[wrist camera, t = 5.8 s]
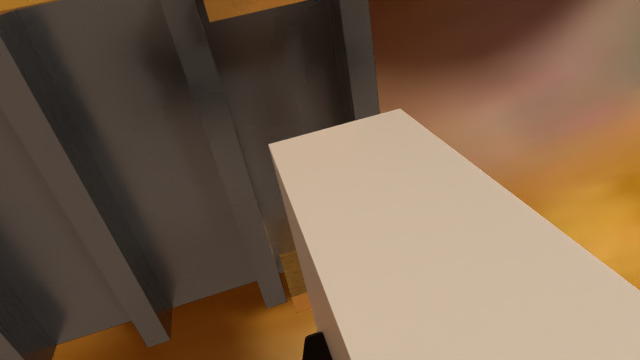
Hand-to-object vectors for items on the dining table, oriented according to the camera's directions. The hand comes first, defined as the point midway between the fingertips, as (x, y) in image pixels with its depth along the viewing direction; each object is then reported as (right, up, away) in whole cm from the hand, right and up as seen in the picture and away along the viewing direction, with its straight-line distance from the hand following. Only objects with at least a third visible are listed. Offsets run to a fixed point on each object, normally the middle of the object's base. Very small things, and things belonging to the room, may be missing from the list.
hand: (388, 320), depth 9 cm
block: (0, +1, +2) cm, 2 cm away
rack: (-8, +4, +9) cm, 12 cm away
